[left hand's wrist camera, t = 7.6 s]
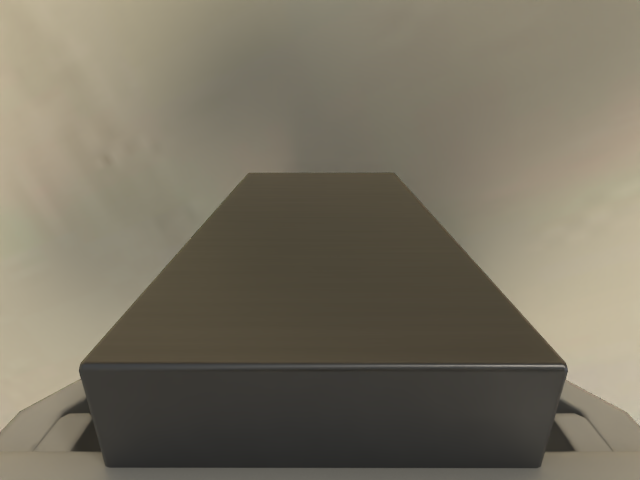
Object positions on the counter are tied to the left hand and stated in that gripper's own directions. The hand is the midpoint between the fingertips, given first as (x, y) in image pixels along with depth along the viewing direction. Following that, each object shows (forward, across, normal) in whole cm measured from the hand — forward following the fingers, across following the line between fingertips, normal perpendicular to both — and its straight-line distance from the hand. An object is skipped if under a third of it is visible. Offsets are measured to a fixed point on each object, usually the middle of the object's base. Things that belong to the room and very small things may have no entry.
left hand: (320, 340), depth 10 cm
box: (+6, 0, +10) cm, 12 cm away
